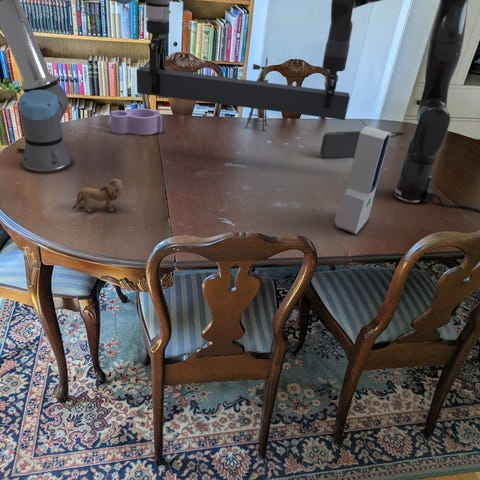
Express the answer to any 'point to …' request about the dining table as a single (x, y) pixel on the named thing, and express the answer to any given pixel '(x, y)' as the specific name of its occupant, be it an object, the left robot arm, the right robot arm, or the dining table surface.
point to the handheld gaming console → (339, 144)
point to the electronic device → (362, 179)
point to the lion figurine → (100, 194)
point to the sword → (396, 133)
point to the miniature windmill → (257, 67)
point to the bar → (244, 93)
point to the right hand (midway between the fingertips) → (326, 105)
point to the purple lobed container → (136, 121)
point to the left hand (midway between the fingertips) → (158, 91)
